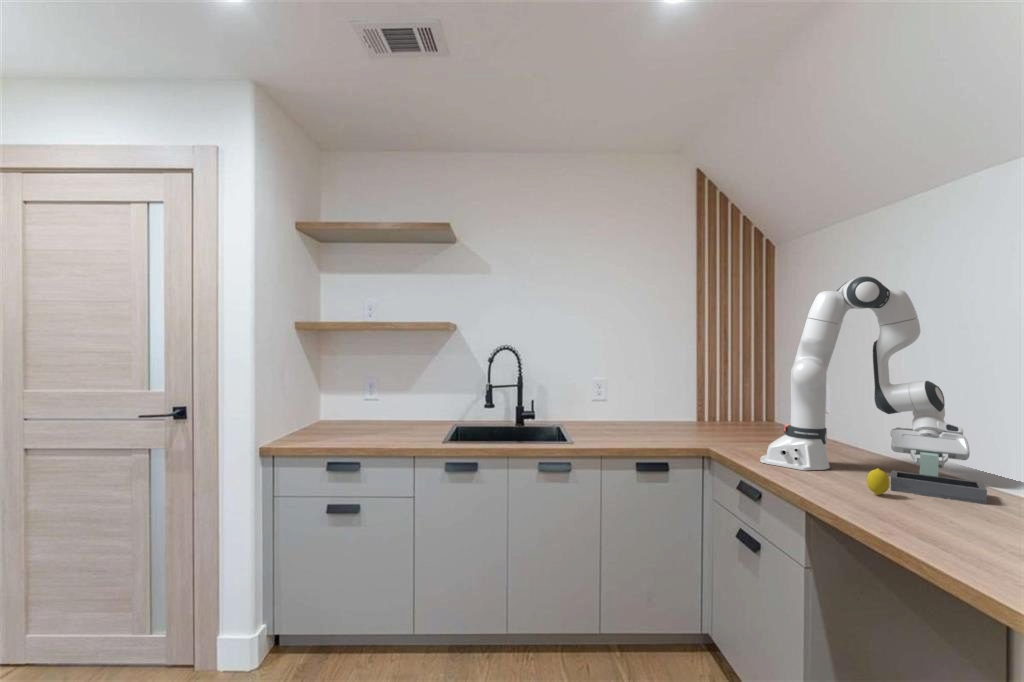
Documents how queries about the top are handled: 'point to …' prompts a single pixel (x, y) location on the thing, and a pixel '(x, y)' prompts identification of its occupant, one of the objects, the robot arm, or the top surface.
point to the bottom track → (939, 487)
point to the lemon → (878, 481)
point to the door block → (929, 463)
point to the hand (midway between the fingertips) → (929, 465)
